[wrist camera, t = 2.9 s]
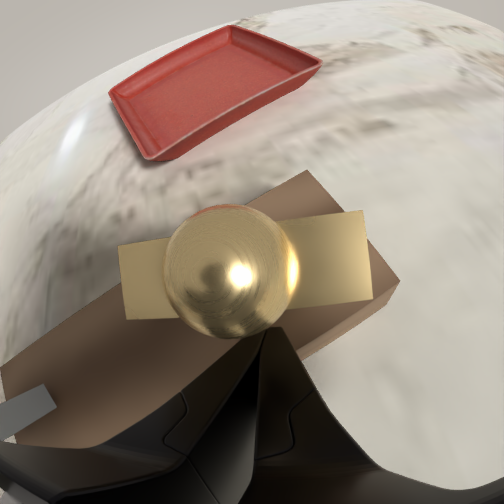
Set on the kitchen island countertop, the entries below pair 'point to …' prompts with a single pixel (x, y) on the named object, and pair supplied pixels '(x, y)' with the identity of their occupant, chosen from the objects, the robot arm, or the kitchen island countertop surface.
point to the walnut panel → (162, 345)
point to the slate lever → (24, 410)
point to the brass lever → (245, 269)
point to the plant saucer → (207, 88)
